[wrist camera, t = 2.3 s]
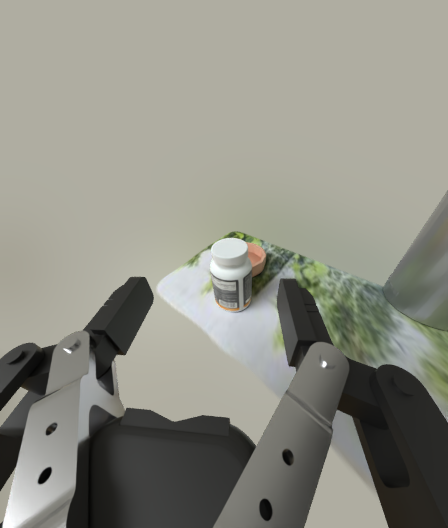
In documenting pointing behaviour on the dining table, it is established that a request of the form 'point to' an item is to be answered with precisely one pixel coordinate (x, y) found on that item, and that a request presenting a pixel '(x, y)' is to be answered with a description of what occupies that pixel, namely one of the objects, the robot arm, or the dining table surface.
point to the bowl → (256, 258)
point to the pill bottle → (231, 274)
